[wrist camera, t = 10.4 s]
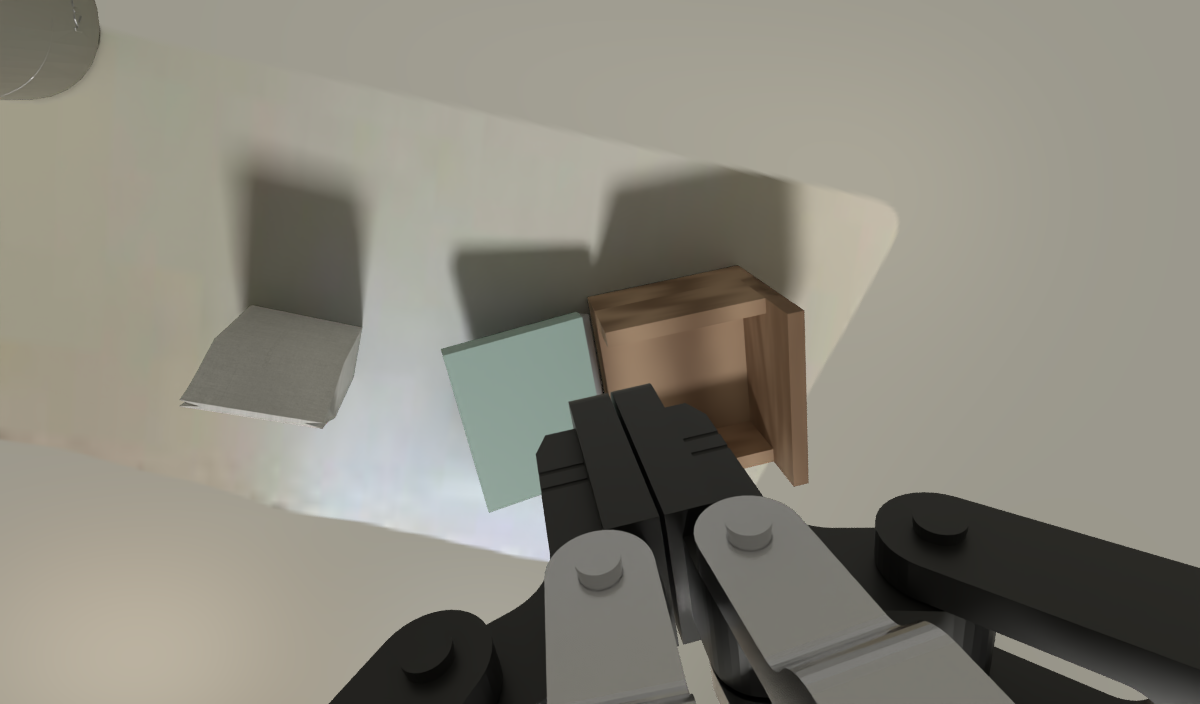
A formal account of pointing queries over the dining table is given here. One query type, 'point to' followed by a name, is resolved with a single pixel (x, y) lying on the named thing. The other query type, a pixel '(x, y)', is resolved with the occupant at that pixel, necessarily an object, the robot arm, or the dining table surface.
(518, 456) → the panel
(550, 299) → the dining table surface
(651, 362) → the brown wooden open box
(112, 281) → the dining table surface
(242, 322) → the grey wedge block
